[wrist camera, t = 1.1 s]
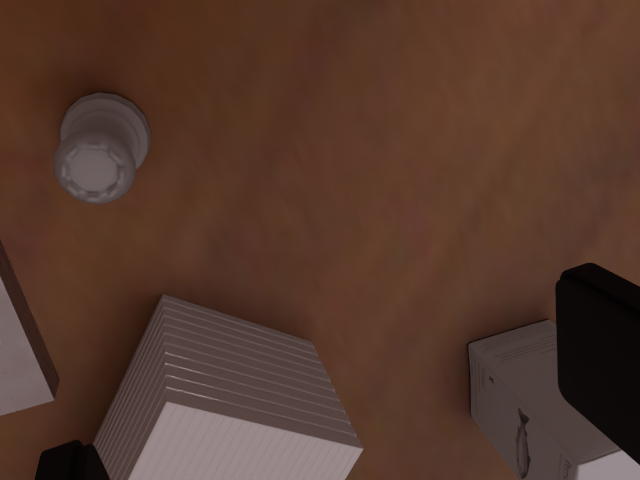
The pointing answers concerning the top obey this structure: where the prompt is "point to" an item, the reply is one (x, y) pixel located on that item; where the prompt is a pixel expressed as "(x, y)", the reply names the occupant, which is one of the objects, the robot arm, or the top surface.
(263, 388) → the long grey block
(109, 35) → the top surface
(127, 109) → the rook chess piece
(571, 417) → the supplement box
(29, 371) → the socket plate
